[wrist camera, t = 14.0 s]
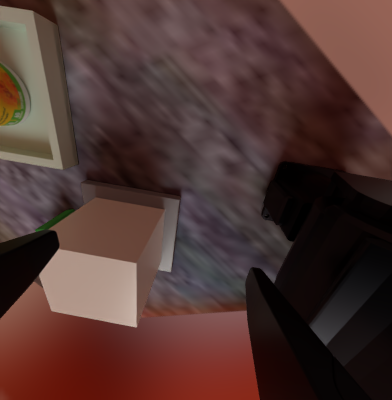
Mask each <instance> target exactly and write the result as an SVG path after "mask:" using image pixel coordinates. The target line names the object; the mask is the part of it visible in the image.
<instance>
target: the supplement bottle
mask: <svg viewBox="0 0 392 400" xmlns="http://www.w3.org/2000/svg"><path fill="white" fill-rule="evenodd" d="M29 112H30V100H29V96H28V93H27V90H26V88H25V86H24V84H23V83H22V81H21V80H20V78H19V77H18V76H17V74H16V73H15V72H14V71H13V70H12V69H10V68H9V67H8V66H7V65H5V64H4V63H2V62H0V126H9V125H18V124H21V123H23V122H24V121H25V120H26V119H27V117H28V116H29Z"/></svg>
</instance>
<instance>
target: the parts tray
mask: <svg viewBox="0 0 392 400" xmlns="http://www.w3.org/2000/svg"><path fill="white" fill-rule="evenodd" d="M0 62H2V63H4V64H5V65H7V66H8V67H9V68H10V69H12V70H13V71H14V72H15V73H16V74H17V76H18V77H19V78H20V80H21V81H22V83H23V84H24V86H25V88H26V90H27V93H28V96H29V100H30V112H29V116H28V117H27V119H26V120H25V121H24V122H23V123H21V124H18V125H9V126H0V159H5V160H10V161H16V162H22V163H28V164H33V165H39V166H45V167H51V168H56V169H62V170H64V169H67V168H69V167H72V166H75V165H78V157H77V150H76V144H75V137H74V130H73V123H72V117H71V110H70V103H69V97H68V90H67V83H66V77H65V70H64V63H63V57H62V50H61V43H60V36H59V30H58V25H56V24H55V23H53V22H51V21H49V20H48V19H46V18H44V17H42V16H41V15H39V14H37V13H36V12H34V11H31V10H24V9H18V8H11V7H5V6H0Z"/></svg>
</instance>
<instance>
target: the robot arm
mask: <svg viewBox="0 0 392 400" xmlns="http://www.w3.org/2000/svg"><path fill="white" fill-rule="evenodd" d="M284 165H287V167H286V168H285V169H283V166H284ZM263 203H264V205H265V206H264V208H263V211H262V217H263V219H265V220H270V221H274V223H275V224H276V225H279V226H280V227H281V229H282V231H283V232H284V234H285V236H286V237H287V239H288V240H289V241H293V244H292V246H291V248H290V250H289V252H288V254H287V256H286V258H285V260H284V262H283V264H282V266H281V268H280V270H279V272H278V274H277V277H276V280H275V283H274V284H273V282H272V281H271V280H270V279H269V278H268V277H267V275H266V274H265V273H264V272H263V271H262V270H261V269H260V268H255V267H252V268H251V269H250V271H249V273H248V276H247V278H246V284H245V286H246V304H247V320H248V328H249V334H250V341H251V347H252V353H253V359H254V365H255V372H256V379H257V384H258V391H259V397H260V400H392V181H391V180H385V179H379V178H373V177H368V176H362V175H356V174H350V173H347V172H344V171H340V170H334V169H328V168H322V167H316V166H311V165H305V164H299V163H293V162H287V161H284V162H282V163H280V165H279V167H278V170H277V173H276V175H275V178H274V180H273V181H271V182H270V185H269V188H268V191H267V194H266V196H265V199H264V202H263ZM266 214H268V216H265V215H266ZM59 247H60V243H59V239H58V235H57V232H56V231H54V230H49V229H44V230H41V231H38V232H34V233H31V234H28V235H25V236H22V237H18V238H15V239H12V240H9V241H6V242H2V243H0V318H1V317H2V316H3V315H4V314H5V313H6V312H7V311H8V310H9V308H10V307H11V306H12V305H13V304H14V303H15V302H16V301H17V300H18V299H19V297H20V296H21V295H22V294H23V293H24V292H25V291H26V290H27V289H28V287H29V286H30V285H31V284H32V283H33V282H34V281H35V279H36V278H37V277H38V276H39V274H40V273H41V272H42V270H43V269H44V268H45V266H46V265H47V264H48V263H49V261H50V260H51V259H52V257H53V256H54V255H55V253H56V252H57V251H58V249H59Z"/></svg>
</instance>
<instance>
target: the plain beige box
mask: <svg viewBox="0 0 392 400" xmlns="http://www.w3.org/2000/svg"><path fill="white" fill-rule="evenodd" d="M81 188H82V194H83V201H84V206H82V207H81V208H79V209H78V210H76V211H75V212H73V213H72V214H70V215H69V216H67V217H66V218H64V219H63V220H61V221H60V222H59V223H57V224H56V225H54V226H53V227H51V228H50V229H49V230H54V231H56V232H57V235H58V239H59V243H60V247H59V249H58V251H57V252H56V253H55V255H54V256H53V257H52V259H51V260H50V261H49V263H48V264H47V265H46V266H45V268H44V269H43V270H42V272H41V273H40V274H39V276H40V279H41V282H42V285H43V288H44V291H45V293H46V296H47V299H48V302H49V304H50V308H51V310H52V311H54V312H60V313H64V314H70V315H75V316H80V317H86V318H91V319H96V320H101V321H106V322H111V323H117V324H122V325H127V326H132V327H137V325H138V322H139V319H140V317H141V314H142V311H143V309H144V306H145V303H146V300H147V298H148V295H149V292H150V290H151V287H152V284H153V281H154V279H155V276H156V273H157V271H158V270H163V271H168V272H171V270H172V266H173V258H174V250H175V241H176V233H177V225H178V217H179V209H180V201H181V196H176V195H171V194H165V193H159V192H153V191H148V190H142V189H136V188H131V187H125V186H119V185H114V184H108V183H102V182H96V181H91V180H85V181H83V182H81Z"/></svg>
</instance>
